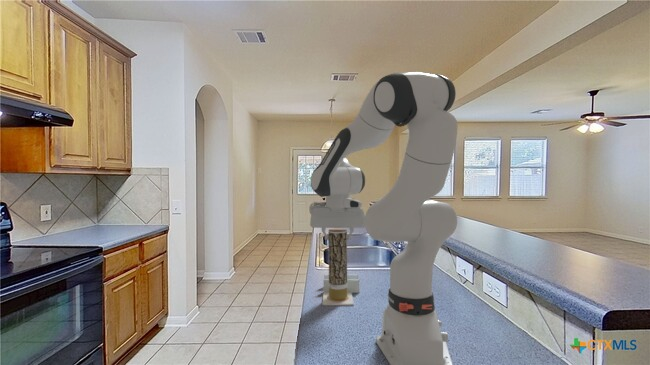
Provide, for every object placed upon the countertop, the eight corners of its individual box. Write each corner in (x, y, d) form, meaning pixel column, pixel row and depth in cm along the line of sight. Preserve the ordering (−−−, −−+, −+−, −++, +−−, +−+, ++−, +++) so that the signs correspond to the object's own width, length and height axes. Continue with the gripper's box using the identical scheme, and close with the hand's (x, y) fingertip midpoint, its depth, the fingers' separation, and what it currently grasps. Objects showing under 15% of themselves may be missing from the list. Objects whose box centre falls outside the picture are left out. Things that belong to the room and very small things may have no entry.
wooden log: (340, 302, 113) (340, 232, 112) (325, 298, 117) (324, 230, 116) (350, 296, 119) (350, 229, 118) (335, 292, 123) (335, 228, 122)
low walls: (359, 292, 124) (359, 280, 124) (323, 292, 125) (323, 279, 125) (358, 286, 131) (358, 274, 131) (324, 286, 131) (324, 274, 131)
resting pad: (353, 305, 112) (353, 303, 112) (322, 305, 113) (322, 303, 113) (351, 293, 123) (351, 292, 123) (323, 293, 124) (323, 291, 124)
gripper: (308, 203, 114) (308, 241, 115) (365, 202, 114) (366, 241, 114) (310, 201, 120) (310, 237, 121) (364, 201, 120) (364, 237, 120)
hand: (337, 239), depth 117 cm, fingers closed on wooden log, 7 cm apart
